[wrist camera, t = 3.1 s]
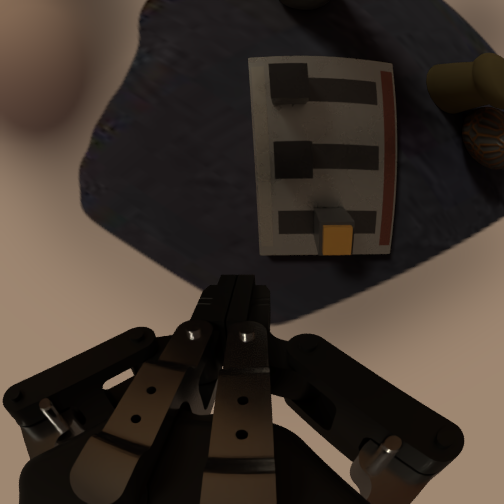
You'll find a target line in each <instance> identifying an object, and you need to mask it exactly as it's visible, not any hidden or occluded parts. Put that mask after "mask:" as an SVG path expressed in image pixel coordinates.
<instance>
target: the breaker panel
mask: <svg viewBox="0 0 504 504" xmlns="http://www.w3.org/2000/svg"><path fill="white" fill-rule="evenodd" d="M248 63H249V77H250V93H251V108H252V124H253V140H254V157H255V174H256V191H257V209H258V227H259V246H260V255H318V251H317V248H316V244H315V240H314V208H345V210H346V211H347V212H348V213H349V215H350V216H351V217H352V219H353V220H354V221H355V228H354V242H353V254H390V247H391V239H392V230H393V221H394V209H395V196H396V177H397V117H396V99H395V86H394V75H393V66H392V64H391V63H385V62H378V61H370V60H362V59H352V58H340V57H323V56H274V57H257V58H248Z"/></svg>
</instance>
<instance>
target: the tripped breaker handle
mask: <svg viewBox="0 0 504 504" xmlns="http://www.w3.org/2000/svg"><path fill="white" fill-rule="evenodd" d="M354 228H355V221H354V220H353V219H352V217H351V216H350V215H349V213H348V212H347V211H346V210H345V208H314V240H315V244H316V248H317V251H318V255H319V256H324V255H353V242H354Z"/></svg>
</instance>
